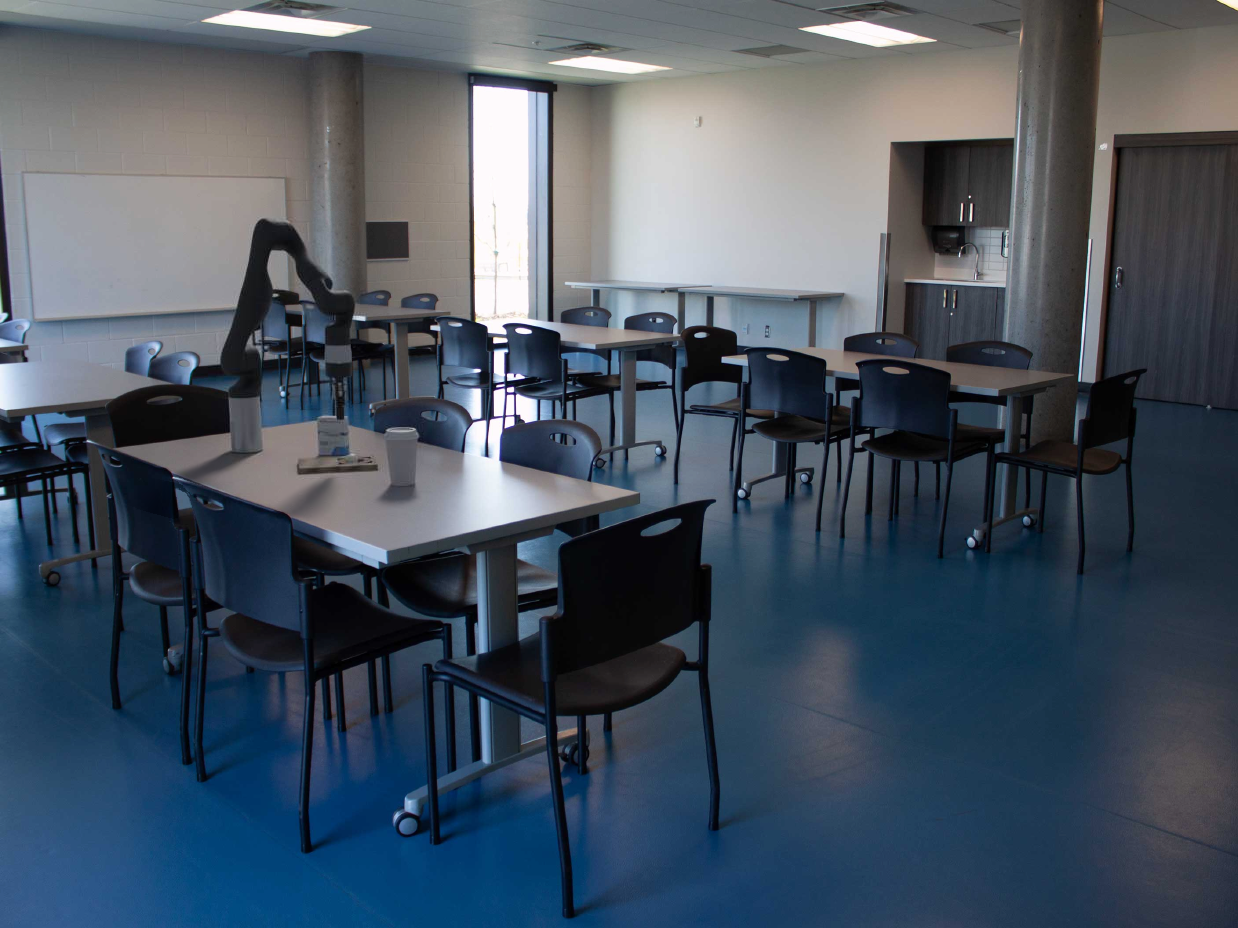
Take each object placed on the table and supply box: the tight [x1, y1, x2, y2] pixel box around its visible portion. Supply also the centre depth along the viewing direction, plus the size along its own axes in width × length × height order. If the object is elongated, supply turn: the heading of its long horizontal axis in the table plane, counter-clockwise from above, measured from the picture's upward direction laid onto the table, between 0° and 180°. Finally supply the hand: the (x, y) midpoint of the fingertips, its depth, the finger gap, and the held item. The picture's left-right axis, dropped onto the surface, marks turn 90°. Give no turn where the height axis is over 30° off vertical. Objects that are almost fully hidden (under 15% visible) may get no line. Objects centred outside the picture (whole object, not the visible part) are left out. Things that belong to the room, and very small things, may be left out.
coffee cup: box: [383, 426, 420, 487], centre depth 297 cm, size 10×10×15 cm
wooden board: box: [297, 454, 379, 474], centre depth 320 cm, size 22×15×2 cm
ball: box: [346, 453, 358, 463], centre depth 321 cm, size 4×4×4 cm
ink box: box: [316, 415, 350, 456], centre depth 338 cm, size 8×5×12 cm, turn 84°
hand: (340, 419), depth 318 cm, fingers closed
